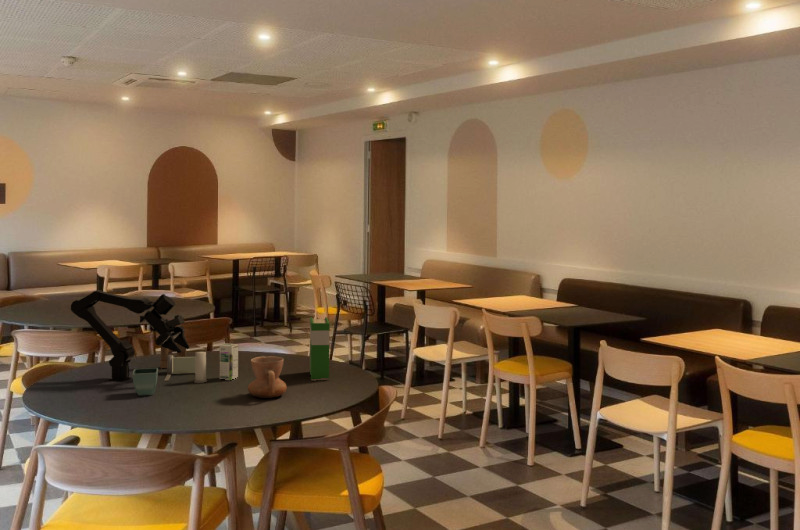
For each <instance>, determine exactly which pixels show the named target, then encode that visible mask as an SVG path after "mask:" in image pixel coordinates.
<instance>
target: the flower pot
mask: <svg viewBox="0 0 800 530" xmlns="http://www.w3.org/2000/svg"><path fill="white" fill-rule="evenodd" d="M158 372H159V368H158V367H152V368H148V367H147V368H135V369H133V371H132V374H131V375H132V380H133V381H132V383H133V388H134V390H135V392H136V394H137V395H138V396H152V395H154V393H155V391H156V388H157V382H158V375H159V373H158Z"/></svg>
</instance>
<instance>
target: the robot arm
mask: <svg viewBox="0 0 800 530" xmlns="http://www.w3.org/2000/svg"><path fill="white" fill-rule="evenodd" d="M99 302H102V303H106V304H111V305H115V306H119V307H123V308H125V309H127V310H129V311H130V312H133V313H135V314H143V313H144V315H140V316H139V323H140V324H141V323H143V322H146V323H147V324H148V325H150V327H151V328H152V332H154V333H155V332H156V333H157V334H158V335H159V336H157V337H156V338H155V339H154V343H155V345H157V347H160V348H161V347H164V348H167V349H169V350H172V351H175V352H174V353H176V354H177V353H181V350H180V348H179V347H178V346H177V344H179V345H181V346H183V347H184V348H186V350H188V349H190V345H189V343H188V341H187V338H186V339H185V337H184V335H185V332H186V330H185V329H186V328H185V327H184V326H183V325H181V324H184V323H185V321H184V320H185V317H183V316H182V315H180V314H177V315H174V318H172V319H170V320H169V319H168V318H166V319H165V318H164V317H163V315H164V316H166V315H167V314H168V313H170V311H172V309H173V308H174V307H175V306H177V305H176V302H175V301H174V299H172V298H171V297H170V296H168V295H166V294H165V293H162V294H161V295H160V296H159V297H158V298H157V300H156V301H152V300H151V301H150V299H148V298H145V297H128V296H123V295H120V294H116V293H111V292H106V291H103V290H101V289H98V290H94V291H92V292H90V294H88V295H85V296H84V297H82V298H80V299H76V300H73V301H72V303H71V304H70V311H71V312H72V313H73V314H74V315H75V316H77V317H78V318H80V319H82V320H84V321H85V322H87V323H88V325H89V326H91V328H92V329H93V330H94V331H95V332H96V333H97V334H98V335H99V337H101V339H102V340H103V341H104V342H105V343H106V344H107V345H108V346H109V348H110V352H111V354H112V357H111V358H110V359H109V360H108V363H109V366H110V367H111V377H109V378H108V380H109V381H110V380H111V381H115V380H116V381H117V382H123V381H126V380H129V379H133V376H130V366H129V363H131V360H132V359H133V358H134V356H135V352H136V351H135V348H134V345H132V344H131V343H130V341H129V340H128V339H124V340H122V339H120V338H119V337H118V336H117V335H116V334H115V332H114V331H113V330H112V329H111V328H110V327H109V326H108V325H107V324H106V323H105V322H104V321H103V320H102V318H101V317H100V316H99V315H98V314H97V311H96V309H95V305H96V304H97V303H99ZM176 343H177V344H176Z"/></svg>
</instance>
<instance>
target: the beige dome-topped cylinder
mask: <svg viewBox="0 0 800 530" xmlns="http://www.w3.org/2000/svg"><path fill="white" fill-rule="evenodd" d="M194 357H195V373H194V374H195V376H194V377H195V379H194V380H193V382H194V384H205V383H204V382H206V383H207V382H208V379H207V352H206V351H196V352H194Z"/></svg>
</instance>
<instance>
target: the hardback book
mask: <svg viewBox="0 0 800 530" xmlns="http://www.w3.org/2000/svg"><path fill="white" fill-rule="evenodd" d="M309 375H311V377H310V380H311V379H321V378H329V379H330V321H329V319H328V317H327V316H326V317H324V318H313V317H311V316H310V317H309Z"/></svg>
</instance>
